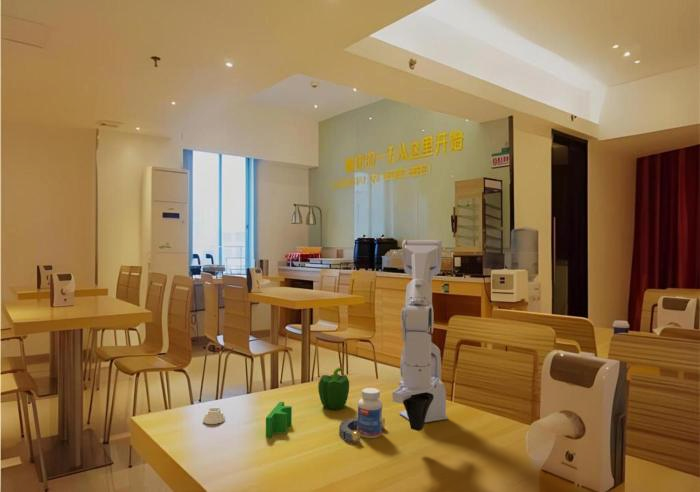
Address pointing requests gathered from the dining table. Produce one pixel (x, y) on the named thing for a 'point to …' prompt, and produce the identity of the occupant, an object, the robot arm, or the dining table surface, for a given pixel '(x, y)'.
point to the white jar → (214, 416)
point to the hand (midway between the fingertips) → (416, 429)
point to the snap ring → (350, 435)
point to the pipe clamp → (278, 419)
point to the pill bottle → (370, 413)
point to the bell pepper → (334, 390)
